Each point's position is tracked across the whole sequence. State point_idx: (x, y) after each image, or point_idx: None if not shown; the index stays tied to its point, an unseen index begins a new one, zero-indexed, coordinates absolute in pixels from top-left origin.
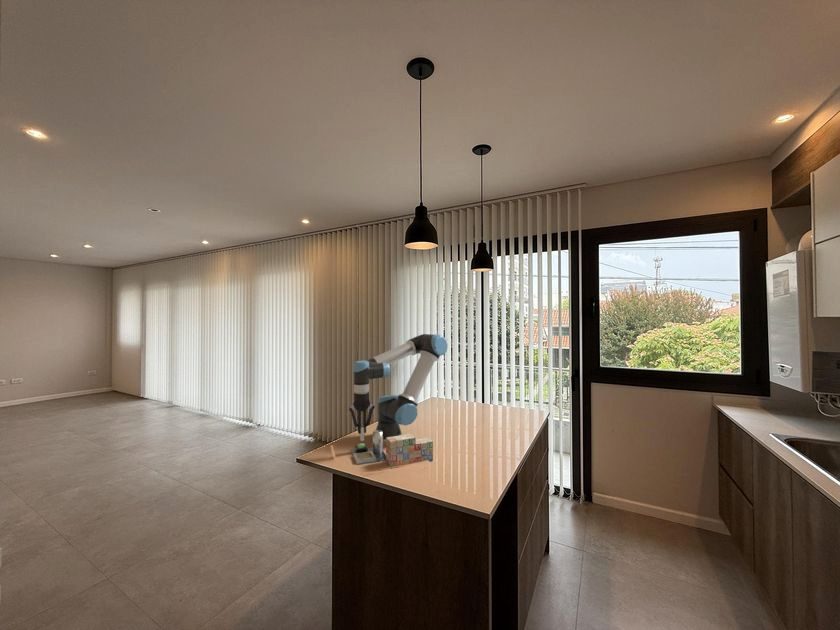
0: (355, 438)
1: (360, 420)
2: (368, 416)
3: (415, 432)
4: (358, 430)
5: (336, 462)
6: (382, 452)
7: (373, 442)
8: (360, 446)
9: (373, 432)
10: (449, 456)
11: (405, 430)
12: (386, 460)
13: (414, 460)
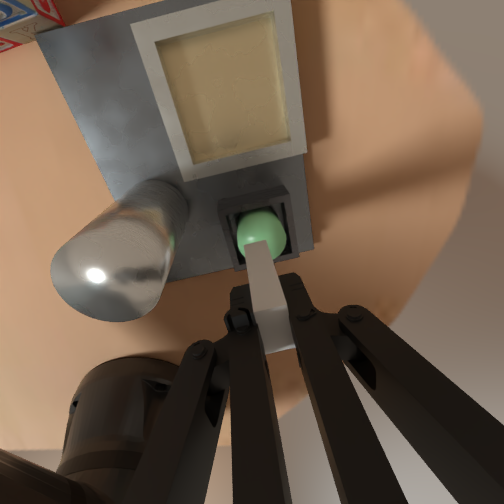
0: (285, 381)
1: (315, 378)
2: (193, 468)
3: (25, 429)
4: (305, 290)
5: (401, 101)
6: None
7: (167, 218)
8: (265, 217)
9: (149, 262)
10: None
11: None
12: (45, 9)
13: None
